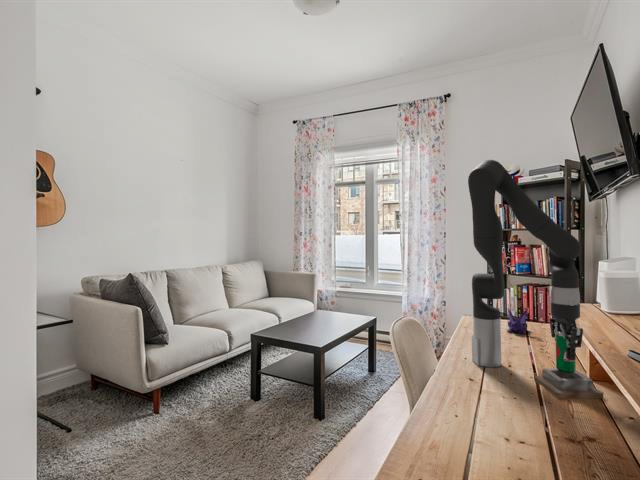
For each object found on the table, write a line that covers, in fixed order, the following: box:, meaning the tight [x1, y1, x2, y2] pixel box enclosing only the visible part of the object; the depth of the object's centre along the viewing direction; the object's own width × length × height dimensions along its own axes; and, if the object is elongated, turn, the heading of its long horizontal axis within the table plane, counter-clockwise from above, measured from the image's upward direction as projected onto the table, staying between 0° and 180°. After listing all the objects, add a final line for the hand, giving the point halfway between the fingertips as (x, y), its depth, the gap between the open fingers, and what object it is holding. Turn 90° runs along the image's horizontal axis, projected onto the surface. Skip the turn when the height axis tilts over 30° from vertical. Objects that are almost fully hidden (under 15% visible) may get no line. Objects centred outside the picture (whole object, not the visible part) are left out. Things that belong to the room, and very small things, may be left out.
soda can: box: [555, 331, 577, 373], centre depth 115 cm, size 5×5×12 cm
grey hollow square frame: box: [533, 368, 604, 399], centre depth 115 cm, size 13×13×4 cm
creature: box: [506, 307, 529, 335], centre depth 179 cm, size 9×18×12 cm, turn 147°
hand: (565, 356), depth 115 cm, fingers closed on soda can, 5 cm apart
